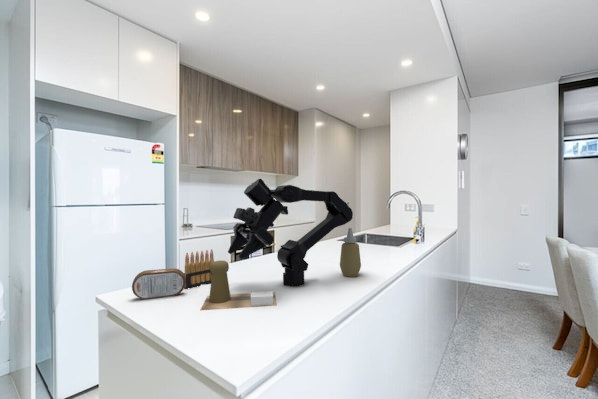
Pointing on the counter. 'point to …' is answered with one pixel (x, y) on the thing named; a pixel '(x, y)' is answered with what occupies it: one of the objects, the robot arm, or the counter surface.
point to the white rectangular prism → (261, 298)
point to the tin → (158, 283)
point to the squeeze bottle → (350, 256)
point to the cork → (219, 282)
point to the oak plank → (234, 302)
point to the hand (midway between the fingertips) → (234, 255)
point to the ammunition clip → (198, 269)
